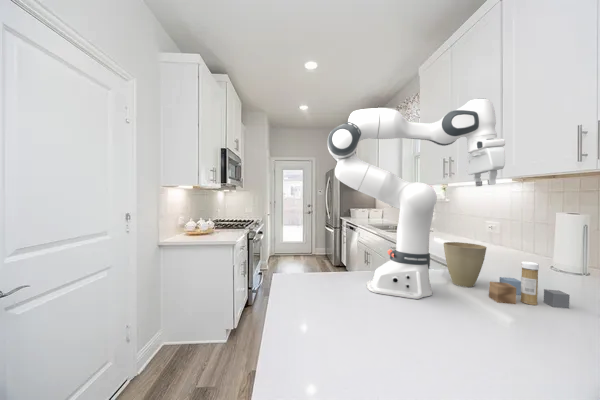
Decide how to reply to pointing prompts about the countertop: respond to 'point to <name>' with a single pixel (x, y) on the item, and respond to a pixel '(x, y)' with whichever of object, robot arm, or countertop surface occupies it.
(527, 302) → the sprinkles bottle
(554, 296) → the charcoal block
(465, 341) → the countertop surface
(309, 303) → the countertop surface
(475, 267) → the plant pot
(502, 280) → the slate blue block
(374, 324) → the countertop surface
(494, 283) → the walnut block
